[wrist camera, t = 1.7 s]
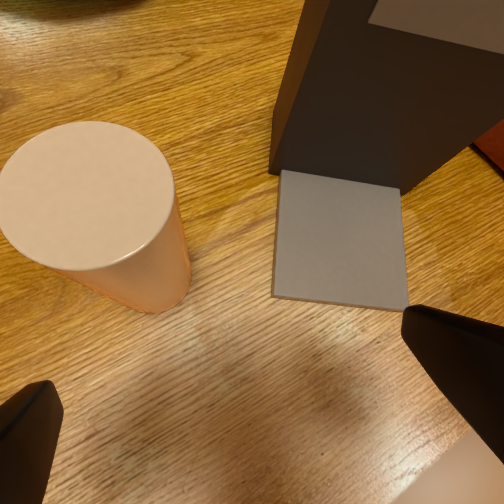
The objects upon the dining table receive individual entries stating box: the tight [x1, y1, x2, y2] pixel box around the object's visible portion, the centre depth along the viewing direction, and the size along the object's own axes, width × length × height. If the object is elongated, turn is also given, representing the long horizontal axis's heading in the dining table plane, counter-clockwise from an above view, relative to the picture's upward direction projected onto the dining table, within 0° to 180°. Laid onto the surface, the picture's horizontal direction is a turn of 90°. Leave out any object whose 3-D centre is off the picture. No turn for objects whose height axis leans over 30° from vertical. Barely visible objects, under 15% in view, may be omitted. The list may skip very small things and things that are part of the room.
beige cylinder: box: [0, 121, 192, 314], centre depth 16 cm, size 6×6×13 cm
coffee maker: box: [268, 0, 504, 312], centre depth 16 cm, size 18×13×21 cm
